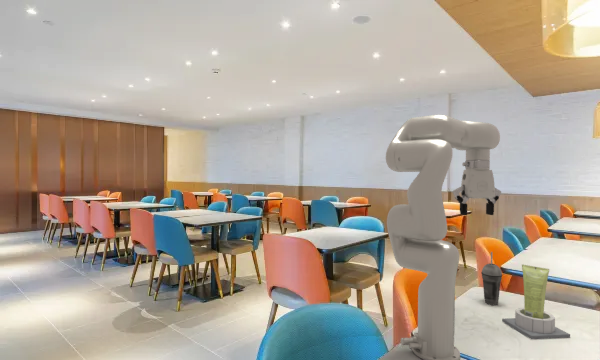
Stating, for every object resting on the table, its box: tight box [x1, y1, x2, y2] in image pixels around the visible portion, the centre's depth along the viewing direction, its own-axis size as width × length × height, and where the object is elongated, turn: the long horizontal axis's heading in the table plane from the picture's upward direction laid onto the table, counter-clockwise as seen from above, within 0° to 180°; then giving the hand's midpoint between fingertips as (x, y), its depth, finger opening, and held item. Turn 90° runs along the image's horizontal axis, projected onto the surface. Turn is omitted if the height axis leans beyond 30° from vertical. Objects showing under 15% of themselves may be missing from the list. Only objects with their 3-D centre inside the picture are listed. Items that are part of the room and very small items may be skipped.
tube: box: [521, 263, 550, 319], centre depth 113 cm, size 6×5×20 cm
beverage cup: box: [481, 251, 503, 306], centre depth 136 cm, size 7×7×20 cm
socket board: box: [501, 307, 571, 340], centre depth 113 cm, size 13×13×5 cm
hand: (476, 214), depth 121 cm, fingers open, 9 cm apart
